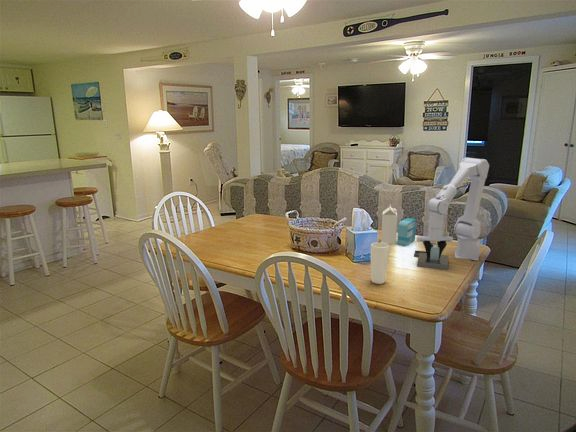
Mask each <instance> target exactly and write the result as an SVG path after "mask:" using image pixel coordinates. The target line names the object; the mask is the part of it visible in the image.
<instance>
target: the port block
mask: <svg viewBox="0 0 576 432" xmlns="http://www.w3.org/2000/svg"><path fill="white" fill-rule="evenodd" d="M416 264H417V265H416V266H417V267H418V268H426V269H427V268H428V269H434V270H435V269H437V270H443V271H444V270H445V271H448V270H449V255H446V254H441V256H440V259H439V261H434V260H427V254H426V253H420V252H419V257H417V262H416Z"/></svg>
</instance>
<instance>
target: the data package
mask: <svg viewBox="0 0 576 432" xmlns="http://www.w3.org/2000/svg"><path fill="white" fill-rule="evenodd" d="M416 230H417V219H416V218H409V217H407V218H405V219H403V220H401V221H398V223H397V238H396V245H397V246H402V247H407V246H409V245H411V244H412V243H414V242H415V241H416Z"/></svg>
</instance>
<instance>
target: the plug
mask: <svg viewBox="0 0 576 432" xmlns="http://www.w3.org/2000/svg"><path fill="white" fill-rule="evenodd" d="M430 243H431V245H432V246H431V251H430V259H428V258H427V260H434V261H439V250H440V247H438V244H437V242H430Z"/></svg>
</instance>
